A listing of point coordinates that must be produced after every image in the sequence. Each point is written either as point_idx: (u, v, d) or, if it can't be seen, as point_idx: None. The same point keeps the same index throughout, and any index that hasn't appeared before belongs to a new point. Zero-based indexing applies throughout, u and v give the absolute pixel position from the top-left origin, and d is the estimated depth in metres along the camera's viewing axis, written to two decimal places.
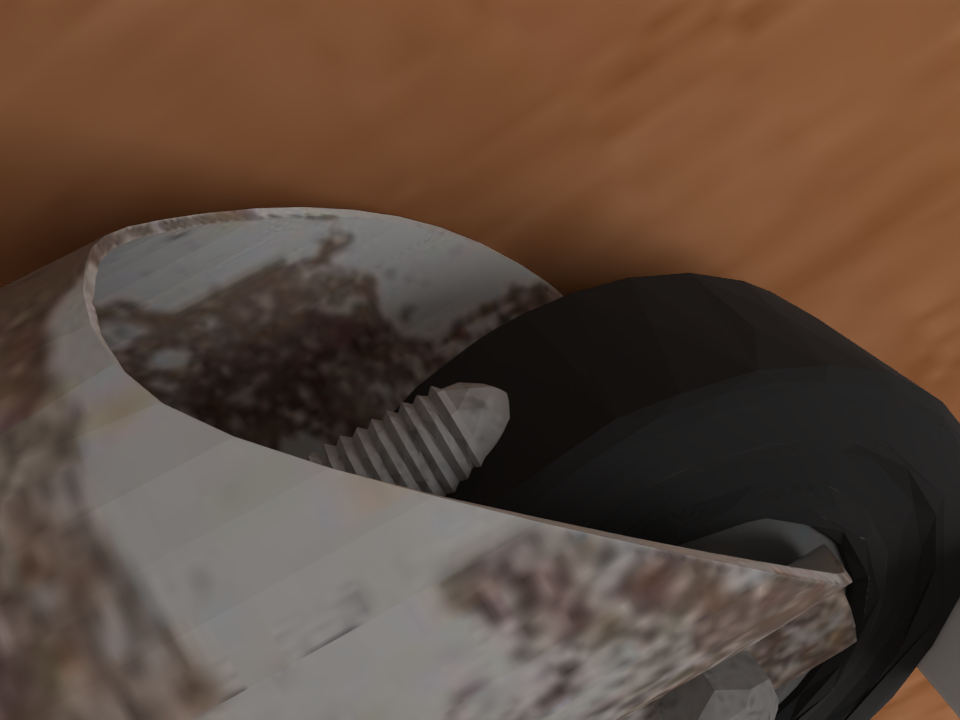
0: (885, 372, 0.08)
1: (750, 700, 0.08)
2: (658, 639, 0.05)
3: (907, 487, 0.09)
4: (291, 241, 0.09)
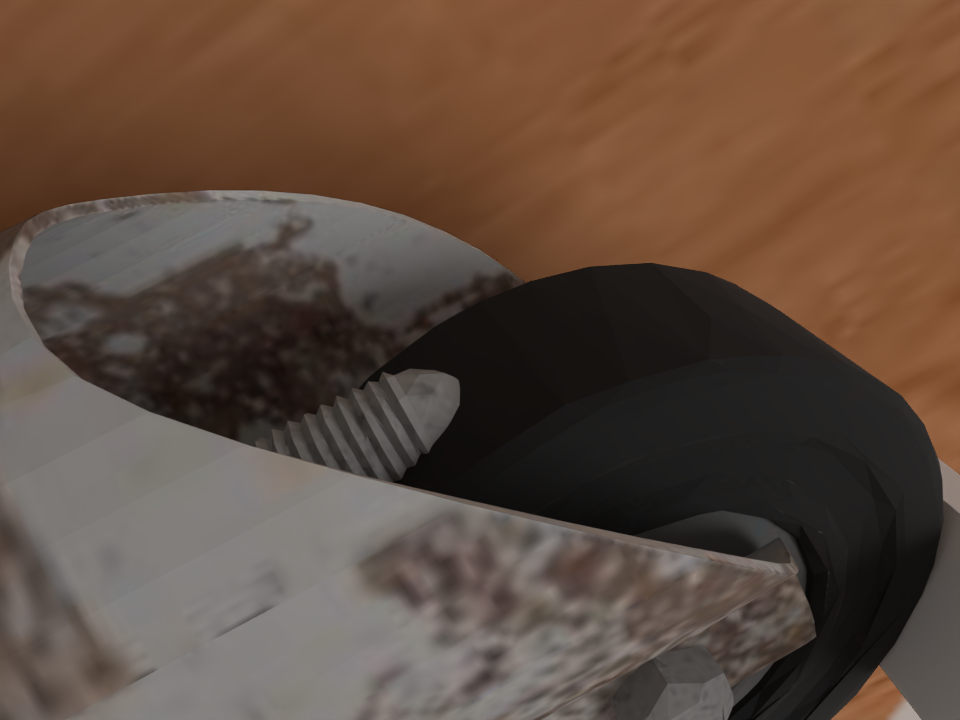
0: (841, 363, 0.08)
1: (703, 694, 0.08)
2: (588, 626, 0.05)
3: (865, 482, 0.09)
4: (248, 225, 0.09)
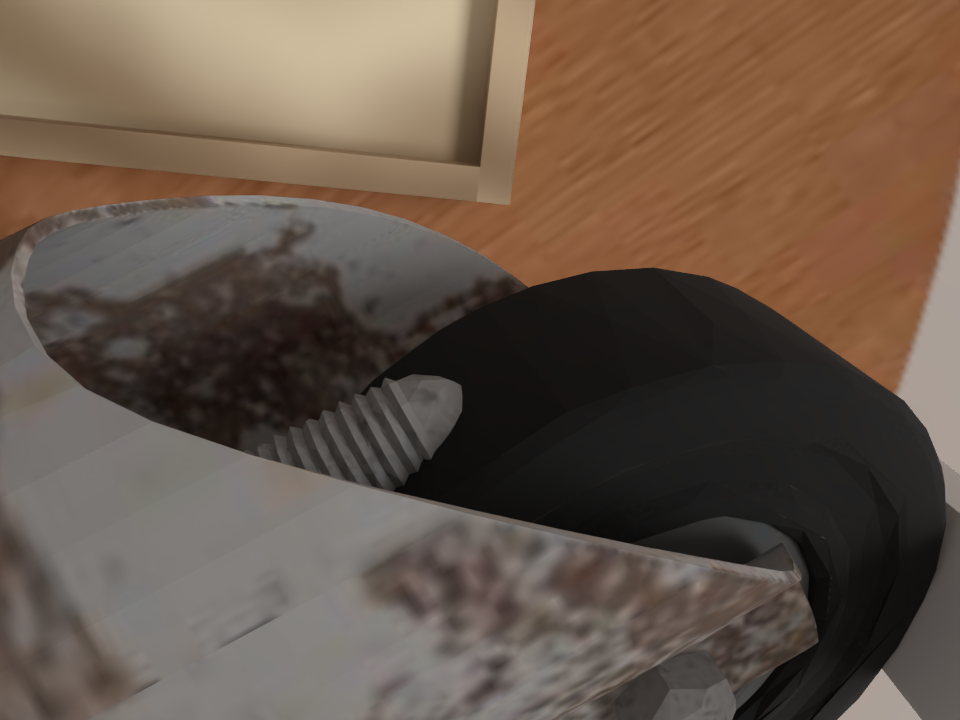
0: (844, 369, 0.08)
1: (706, 700, 0.08)
2: (592, 635, 0.05)
3: (868, 486, 0.09)
4: (251, 229, 0.09)
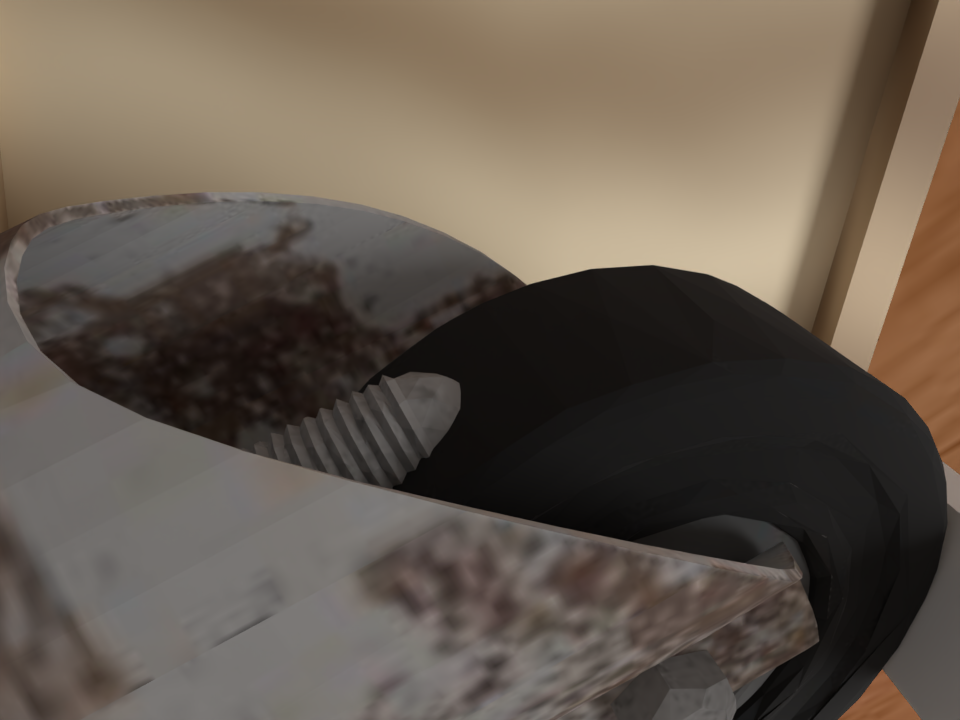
0: (845, 367, 0.08)
1: (706, 700, 0.08)
2: (591, 634, 0.05)
3: (869, 485, 0.09)
4: (247, 226, 0.09)
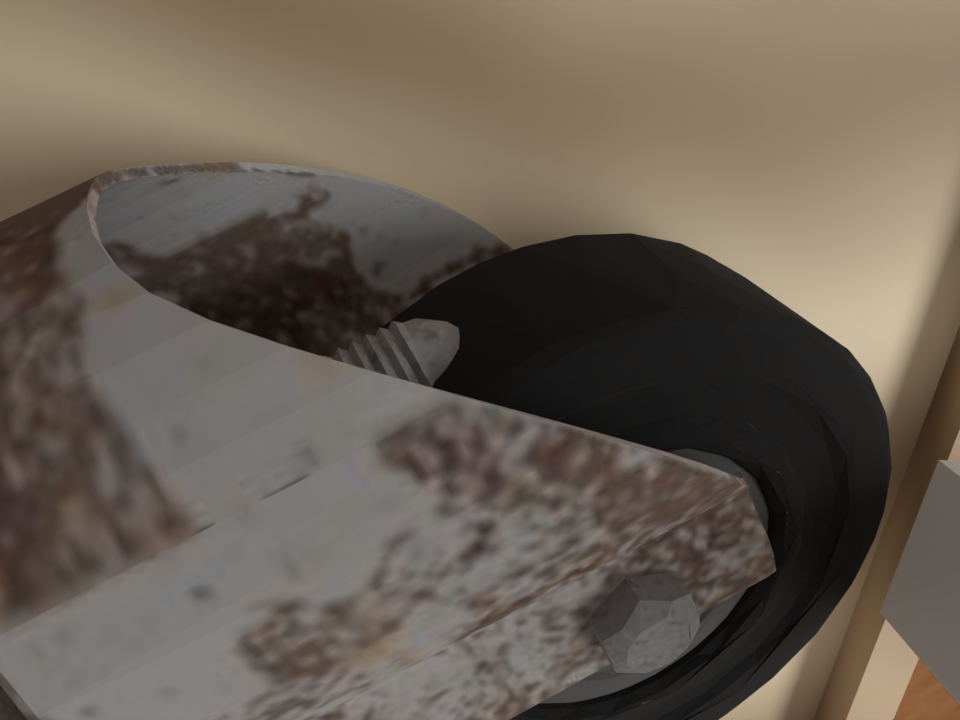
0: (792, 317, 0.09)
1: (671, 610, 0.09)
2: (563, 508, 0.06)
3: (818, 427, 0.10)
4: (272, 194, 0.10)
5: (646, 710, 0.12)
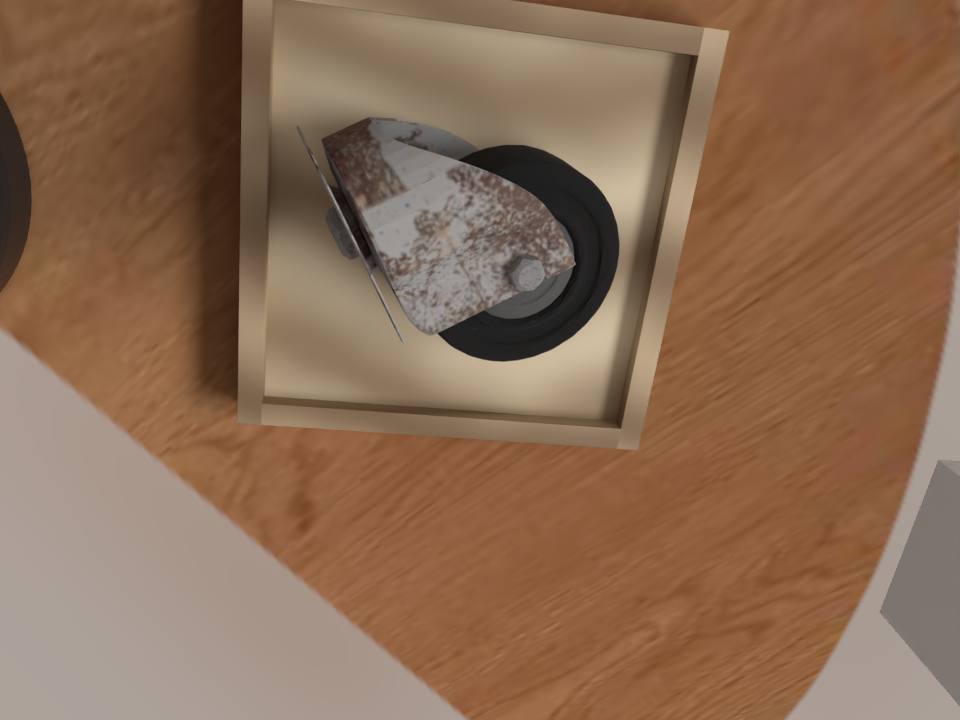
0: (568, 166, 0.29)
1: (532, 263, 0.29)
2: (489, 195, 0.26)
3: (585, 209, 0.30)
4: (404, 130, 0.30)
5: (534, 329, 0.32)
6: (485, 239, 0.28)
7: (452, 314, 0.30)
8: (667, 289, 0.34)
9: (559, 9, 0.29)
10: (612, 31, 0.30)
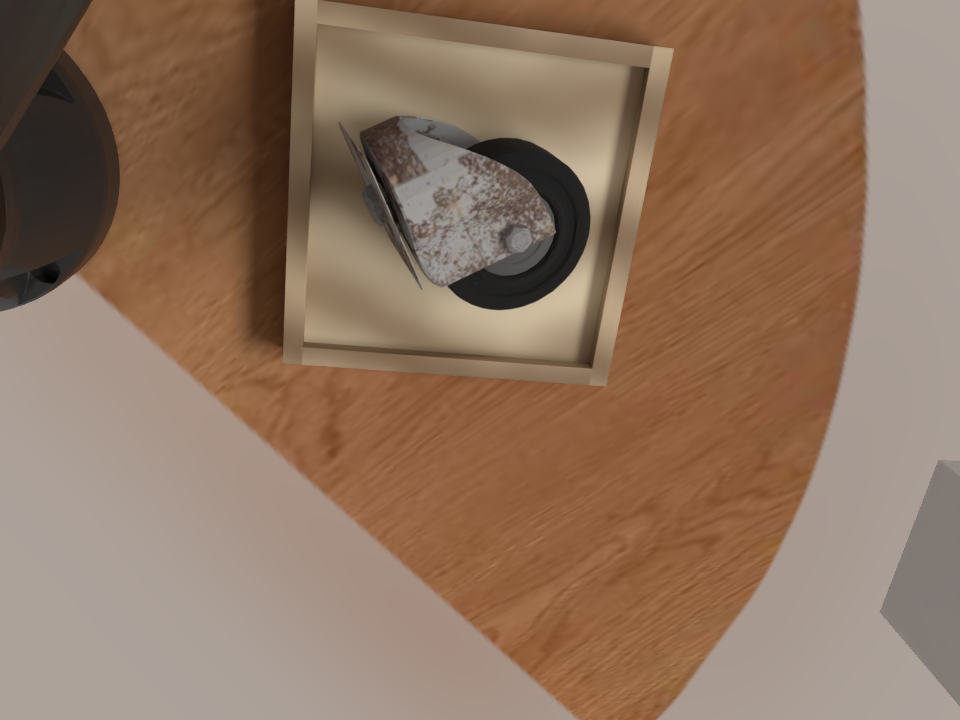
0: (550, 155, 0.37)
1: (522, 230, 0.37)
2: (490, 176, 0.34)
3: (563, 188, 0.38)
4: (421, 125, 0.38)
5: (523, 284, 0.40)
6: (486, 211, 0.36)
7: (459, 270, 0.38)
8: (628, 254, 0.42)
9: (540, 32, 0.37)
10: (582, 49, 0.38)
